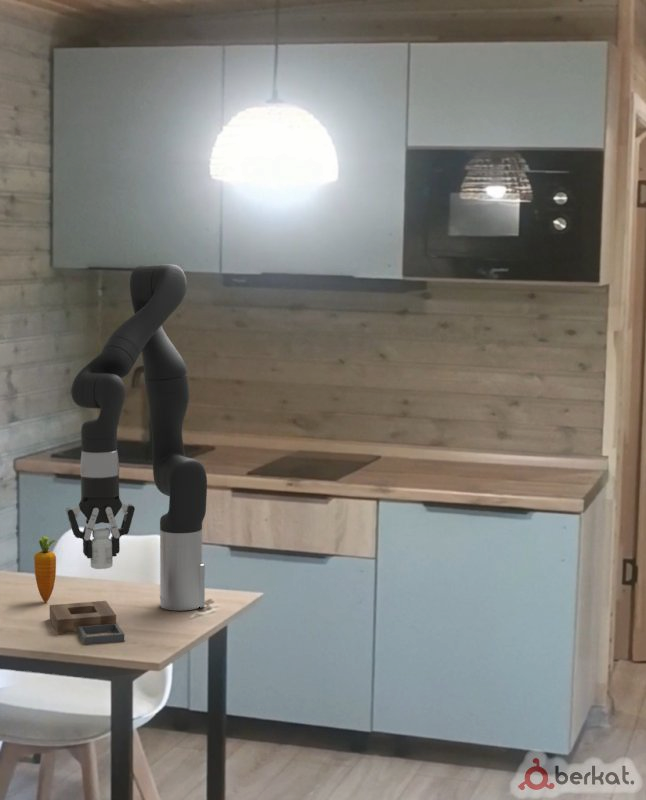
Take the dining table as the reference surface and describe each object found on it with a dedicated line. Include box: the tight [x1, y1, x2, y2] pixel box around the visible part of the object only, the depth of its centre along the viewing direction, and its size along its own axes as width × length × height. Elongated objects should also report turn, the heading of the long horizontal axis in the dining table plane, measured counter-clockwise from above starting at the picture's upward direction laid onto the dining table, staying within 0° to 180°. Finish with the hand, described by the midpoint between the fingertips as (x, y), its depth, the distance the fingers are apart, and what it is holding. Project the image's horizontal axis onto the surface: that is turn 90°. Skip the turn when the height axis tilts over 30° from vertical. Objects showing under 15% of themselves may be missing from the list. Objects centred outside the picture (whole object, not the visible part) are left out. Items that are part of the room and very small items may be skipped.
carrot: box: [33, 535, 57, 603], centre depth 295 cm, size 5×5×15 cm
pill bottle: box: [89, 527, 114, 570], centre depth 267 cm, size 4×4×8 cm
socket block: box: [49, 600, 117, 635], centre depth 279 cm, size 12×12×3 cm
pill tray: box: [77, 623, 125, 646], centre depth 269 cm, size 8×8×2 cm
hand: (101, 556), depth 267 cm, fingers closed on pill bottle, 4 cm apart
